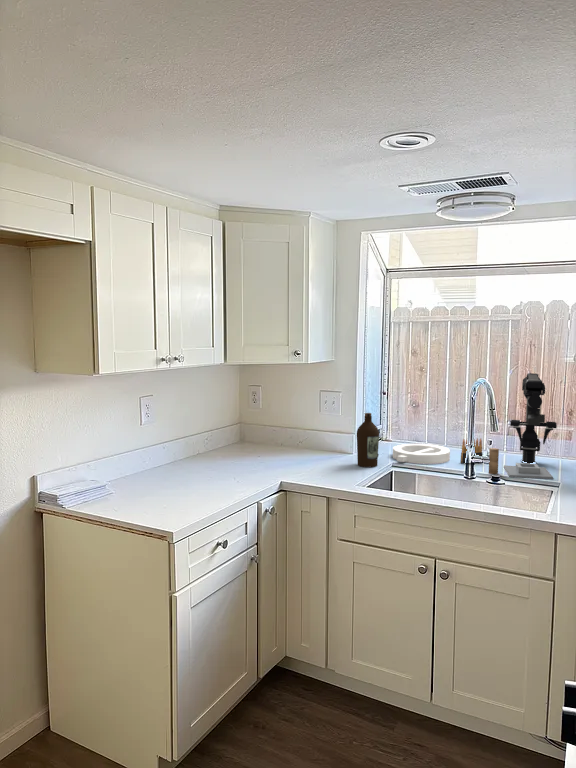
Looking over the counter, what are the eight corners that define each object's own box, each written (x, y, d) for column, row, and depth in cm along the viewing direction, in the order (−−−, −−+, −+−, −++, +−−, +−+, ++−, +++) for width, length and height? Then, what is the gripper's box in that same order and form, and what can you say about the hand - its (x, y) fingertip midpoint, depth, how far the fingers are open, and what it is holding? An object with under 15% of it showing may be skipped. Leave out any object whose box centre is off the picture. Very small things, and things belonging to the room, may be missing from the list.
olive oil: (351, 464, 285) (352, 412, 282) (368, 461, 291) (369, 411, 288) (366, 468, 276) (367, 415, 274) (383, 466, 282) (384, 413, 279)
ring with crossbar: (442, 452, 314) (442, 443, 313) (456, 465, 286) (456, 455, 285) (389, 452, 314) (389, 443, 314) (397, 464, 286) (397, 455, 286)
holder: (503, 467, 279) (504, 460, 279) (544, 469, 275) (545, 462, 275) (509, 476, 261) (509, 469, 261) (553, 479, 257) (553, 471, 257)
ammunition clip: (462, 463, 287) (462, 439, 286) (460, 462, 289) (461, 438, 288) (482, 462, 289) (483, 438, 288) (480, 461, 291) (481, 437, 289)
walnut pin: (488, 471, 271) (488, 447, 270) (497, 472, 270) (498, 448, 269) (489, 473, 267) (489, 449, 266) (498, 474, 266) (499, 450, 265)
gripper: (511, 407, 258) (510, 443, 258) (558, 409, 252) (557, 446, 251) (510, 407, 269) (509, 442, 268) (555, 409, 262) (554, 444, 262)
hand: (532, 443), depth 262 cm, fingers open, 9 cm apart
